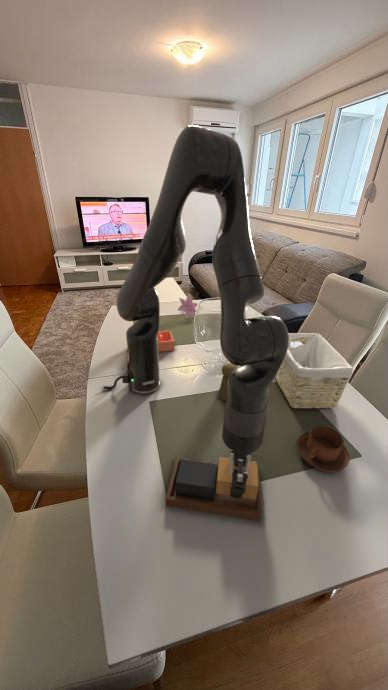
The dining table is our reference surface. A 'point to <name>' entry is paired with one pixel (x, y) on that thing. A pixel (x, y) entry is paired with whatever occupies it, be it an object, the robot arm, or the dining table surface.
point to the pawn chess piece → (225, 379)
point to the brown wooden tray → (215, 500)
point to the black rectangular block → (196, 479)
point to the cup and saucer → (323, 449)
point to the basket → (313, 373)
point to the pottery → (165, 341)
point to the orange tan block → (226, 478)
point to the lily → (187, 306)
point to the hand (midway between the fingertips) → (236, 481)
